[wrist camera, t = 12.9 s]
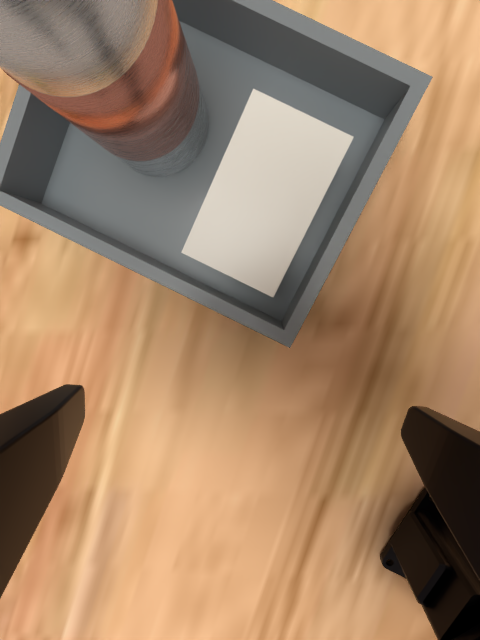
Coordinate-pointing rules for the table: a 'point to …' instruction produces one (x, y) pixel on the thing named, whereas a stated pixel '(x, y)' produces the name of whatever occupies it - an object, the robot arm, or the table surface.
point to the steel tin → (111, 75)
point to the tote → (219, 156)
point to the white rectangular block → (265, 192)
